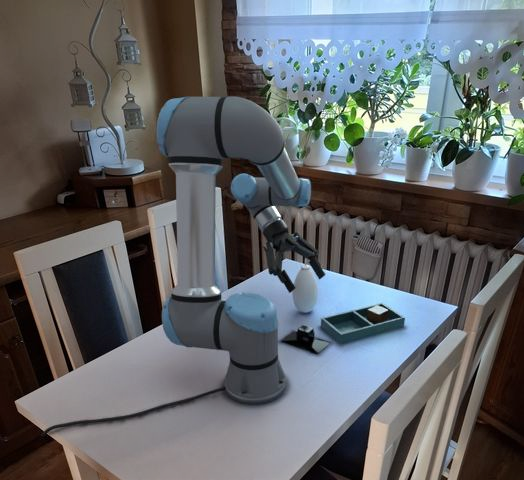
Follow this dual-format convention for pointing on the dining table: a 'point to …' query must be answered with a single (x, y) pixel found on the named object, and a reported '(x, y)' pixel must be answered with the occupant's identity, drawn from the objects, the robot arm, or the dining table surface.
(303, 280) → the sauce bottle
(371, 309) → the walnut block
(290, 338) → the build plate
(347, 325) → the tray
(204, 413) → the dining table surface
